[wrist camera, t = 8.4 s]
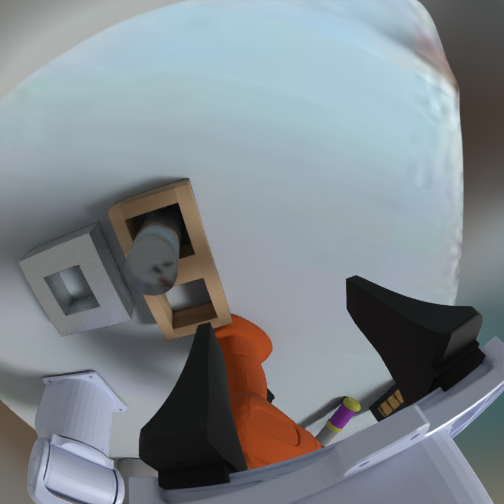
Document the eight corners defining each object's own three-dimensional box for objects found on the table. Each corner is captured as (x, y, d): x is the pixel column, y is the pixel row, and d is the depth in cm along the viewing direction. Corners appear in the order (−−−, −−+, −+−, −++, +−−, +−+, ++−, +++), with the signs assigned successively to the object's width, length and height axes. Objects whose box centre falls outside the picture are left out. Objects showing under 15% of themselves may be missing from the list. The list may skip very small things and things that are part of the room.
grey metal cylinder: (150, 247, 21) (134, 300, 15) (139, 212, 20) (115, 253, 13) (185, 238, 22) (184, 289, 15) (176, 202, 20) (168, 240, 14)
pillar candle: (150, 476, 41) (155, 534, 27) (109, 463, 36) (109, 526, 23) (176, 466, 39) (185, 532, 26) (131, 452, 35) (134, 525, 22)
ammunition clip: (373, 408, 42) (401, 455, 32) (368, 407, 42) (396, 456, 31) (414, 370, 40) (449, 415, 29) (410, 368, 39) (446, 415, 28)
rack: (228, 306, 25) (232, 322, 23) (167, 323, 25) (166, 340, 22) (189, 177, 20) (188, 183, 18) (115, 202, 19) (107, 211, 17)
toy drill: (304, 402, 33) (337, 496, 19) (192, 329, 27) (182, 464, 13) (333, 382, 32) (378, 475, 18) (226, 298, 26) (239, 437, 12)
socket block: (68, 321, 22) (61, 336, 20) (30, 250, 19) (18, 262, 17) (135, 303, 23) (131, 319, 21) (98, 222, 19) (88, 233, 17)
